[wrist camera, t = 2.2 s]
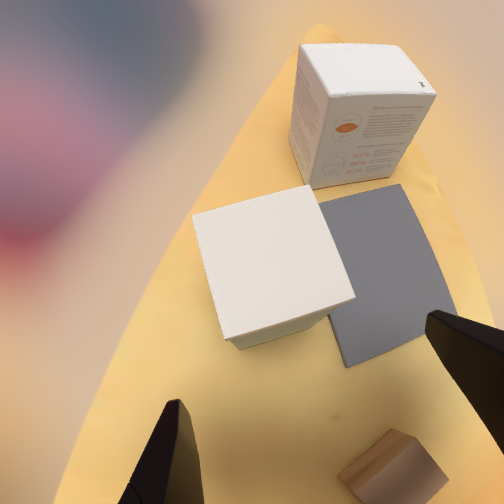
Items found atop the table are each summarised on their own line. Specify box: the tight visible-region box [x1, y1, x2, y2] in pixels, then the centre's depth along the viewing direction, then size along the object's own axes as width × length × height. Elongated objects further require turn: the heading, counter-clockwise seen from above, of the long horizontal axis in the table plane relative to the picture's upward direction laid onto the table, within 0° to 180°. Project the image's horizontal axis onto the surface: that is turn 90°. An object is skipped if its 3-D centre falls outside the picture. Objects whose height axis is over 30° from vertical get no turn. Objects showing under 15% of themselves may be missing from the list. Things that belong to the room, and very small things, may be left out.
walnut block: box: [338, 429, 449, 504], centre depth 16 cm, size 5×5×4 cm
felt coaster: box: [318, 184, 458, 368], centre depth 22 cm, size 12×10×1 cm
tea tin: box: [191, 185, 355, 350], centre depth 17 cm, size 5×5×10 cm
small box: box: [289, 43, 437, 190], centre depth 21 cm, size 8×6×10 cm
